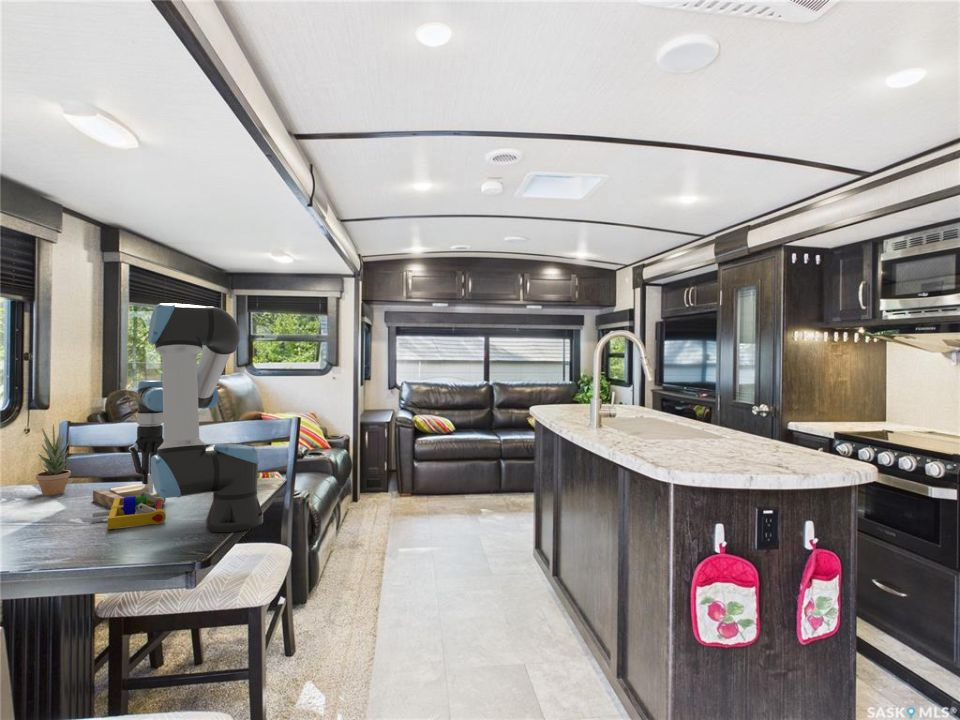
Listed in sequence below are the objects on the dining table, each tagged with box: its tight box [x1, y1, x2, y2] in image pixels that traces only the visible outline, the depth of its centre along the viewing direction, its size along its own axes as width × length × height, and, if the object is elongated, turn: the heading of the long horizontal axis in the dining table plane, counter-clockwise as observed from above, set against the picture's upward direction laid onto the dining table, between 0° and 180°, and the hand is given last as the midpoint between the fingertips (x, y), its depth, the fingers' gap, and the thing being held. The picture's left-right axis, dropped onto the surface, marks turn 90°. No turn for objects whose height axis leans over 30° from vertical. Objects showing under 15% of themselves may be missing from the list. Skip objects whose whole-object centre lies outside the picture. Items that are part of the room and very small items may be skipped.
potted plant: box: [35, 423, 73, 496], centre depth 183 cm, size 10×10×25 cm
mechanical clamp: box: [91, 491, 167, 530], centre depth 158 cm, size 18×6×30 cm
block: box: [109, 483, 149, 497], centre depth 177 cm, size 9×9×4 cm
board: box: [92, 488, 124, 509], centre depth 170 cm, size 18×2×4 cm, turn 55°
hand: (148, 492), depth 180 cm, fingers closed
